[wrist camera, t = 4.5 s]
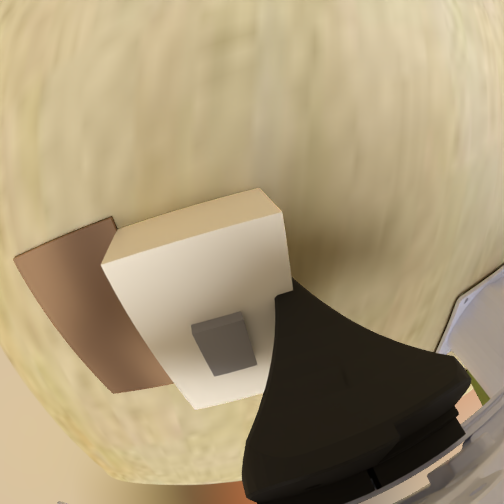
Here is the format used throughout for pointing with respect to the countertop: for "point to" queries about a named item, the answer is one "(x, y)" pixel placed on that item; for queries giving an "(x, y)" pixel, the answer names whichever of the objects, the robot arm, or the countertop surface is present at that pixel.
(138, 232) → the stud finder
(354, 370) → the robot arm
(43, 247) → the brown flat slab
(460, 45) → the countertop surface
